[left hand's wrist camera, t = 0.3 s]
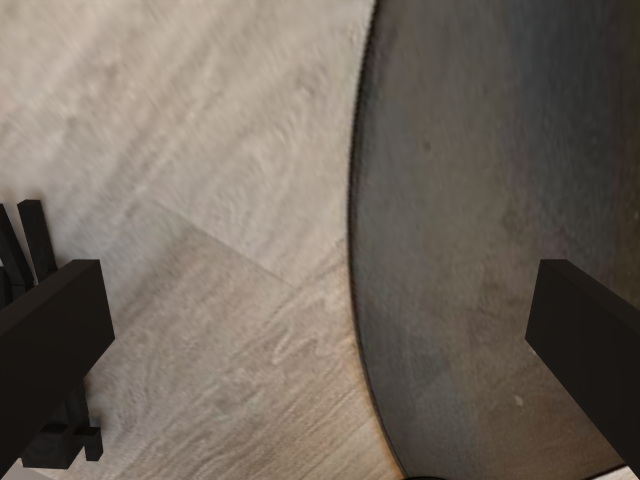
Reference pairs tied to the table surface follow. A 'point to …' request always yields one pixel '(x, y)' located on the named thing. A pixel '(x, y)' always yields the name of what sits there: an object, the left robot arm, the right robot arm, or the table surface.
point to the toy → (72, 416)
